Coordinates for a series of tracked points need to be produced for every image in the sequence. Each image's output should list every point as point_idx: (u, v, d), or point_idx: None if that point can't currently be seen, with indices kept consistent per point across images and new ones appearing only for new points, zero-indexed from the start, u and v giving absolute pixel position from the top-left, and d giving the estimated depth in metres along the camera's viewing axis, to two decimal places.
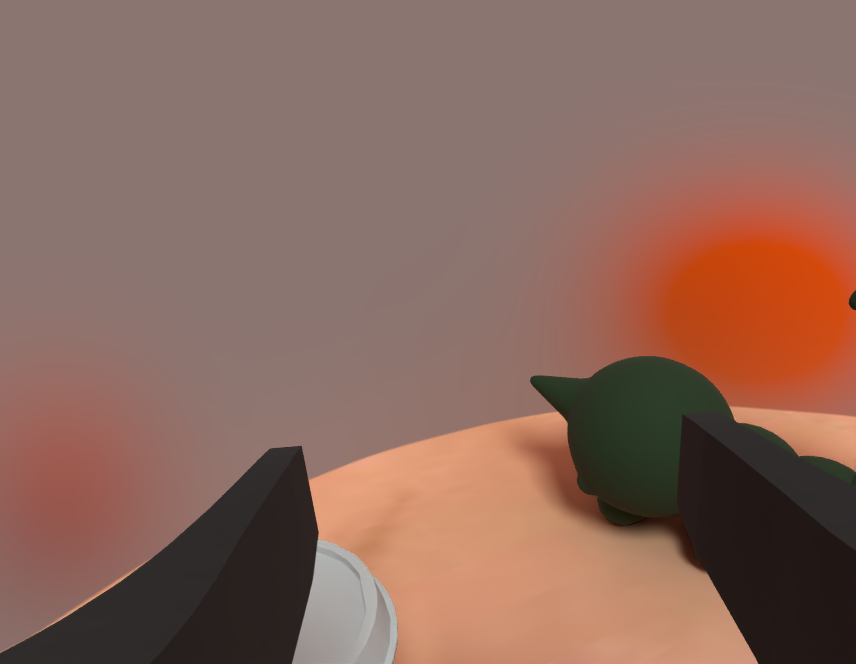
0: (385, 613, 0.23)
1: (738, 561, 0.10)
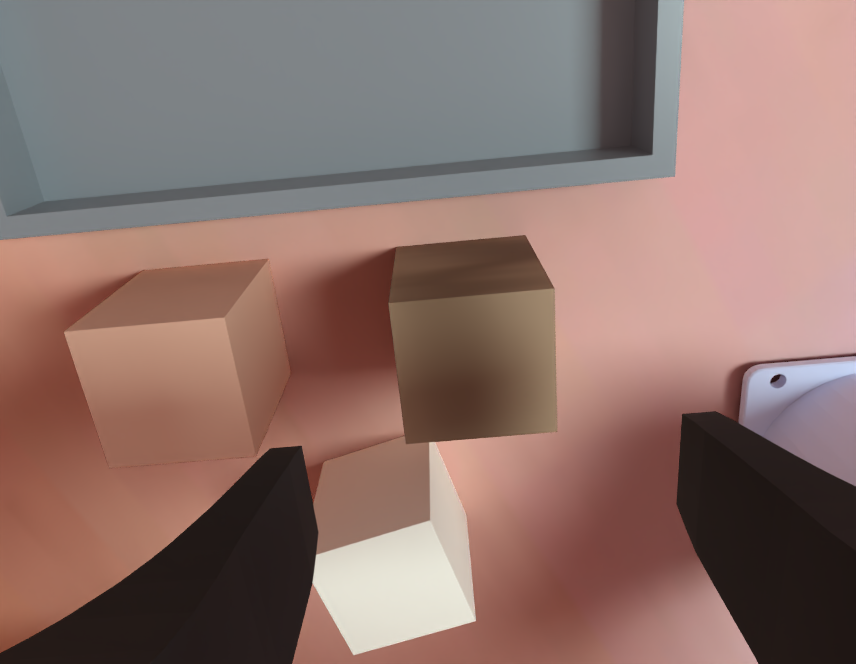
0: None
1: (738, 561, 0.10)
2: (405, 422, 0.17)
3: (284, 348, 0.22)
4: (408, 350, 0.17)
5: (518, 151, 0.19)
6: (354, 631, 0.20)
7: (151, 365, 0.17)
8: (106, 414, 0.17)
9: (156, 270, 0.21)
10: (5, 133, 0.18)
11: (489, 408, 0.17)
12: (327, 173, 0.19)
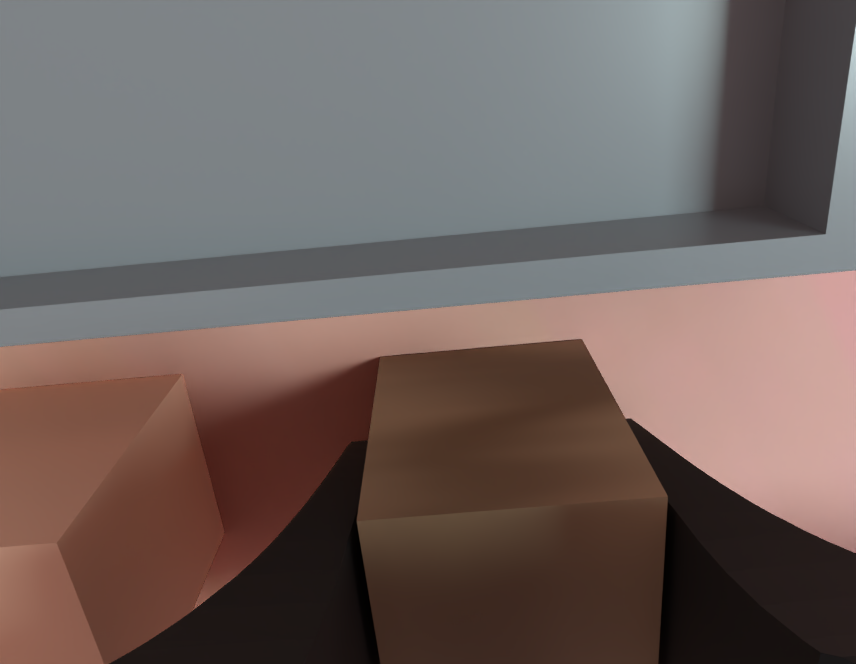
0: None
1: None
2: None
3: (212, 501, 0.14)
4: (395, 595, 0.09)
5: (578, 216, 0.11)
6: None
7: None
8: None
9: (7, 392, 0.13)
10: None
11: None
12: (265, 250, 0.12)
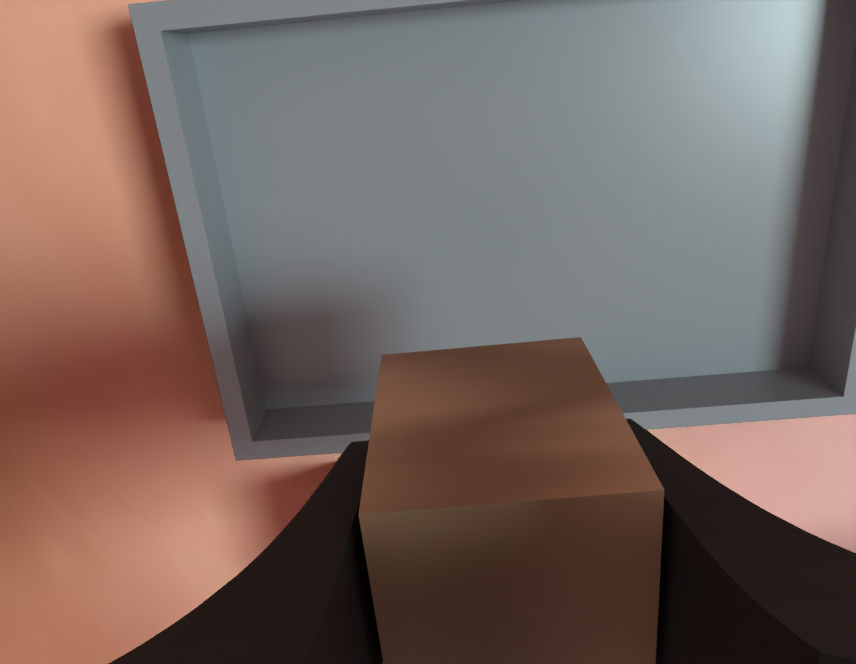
0: None
1: None
2: None
3: None
4: (397, 588, 0.09)
5: (705, 372, 0.21)
6: None
7: None
8: None
9: None
10: (248, 362, 0.20)
11: None
12: None
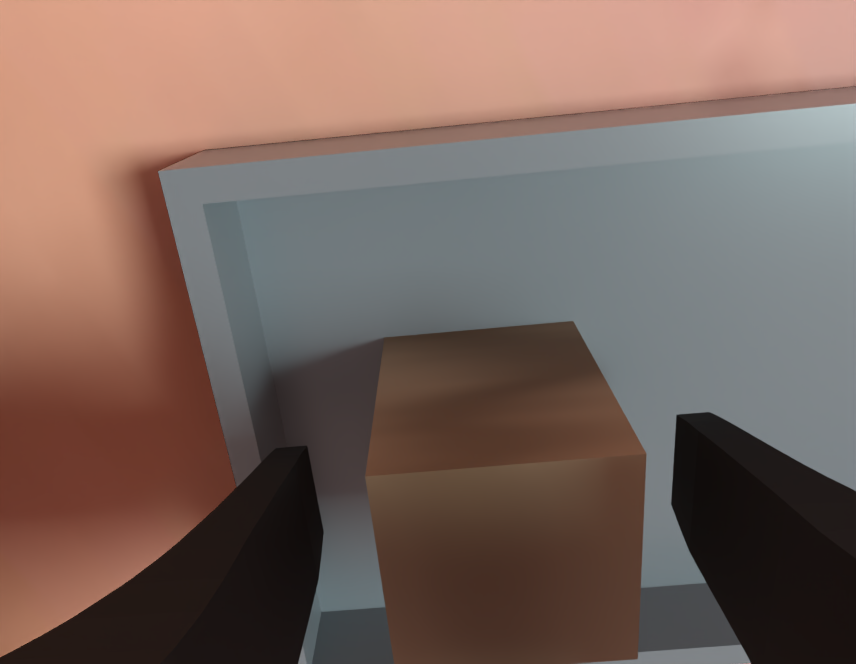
0: None
1: (731, 562, 0.10)
2: (395, 647, 0.11)
3: None
4: (400, 547, 0.10)
5: None
6: None
7: None
8: None
9: None
10: None
11: (530, 627, 0.11)
12: (646, 586, 0.17)
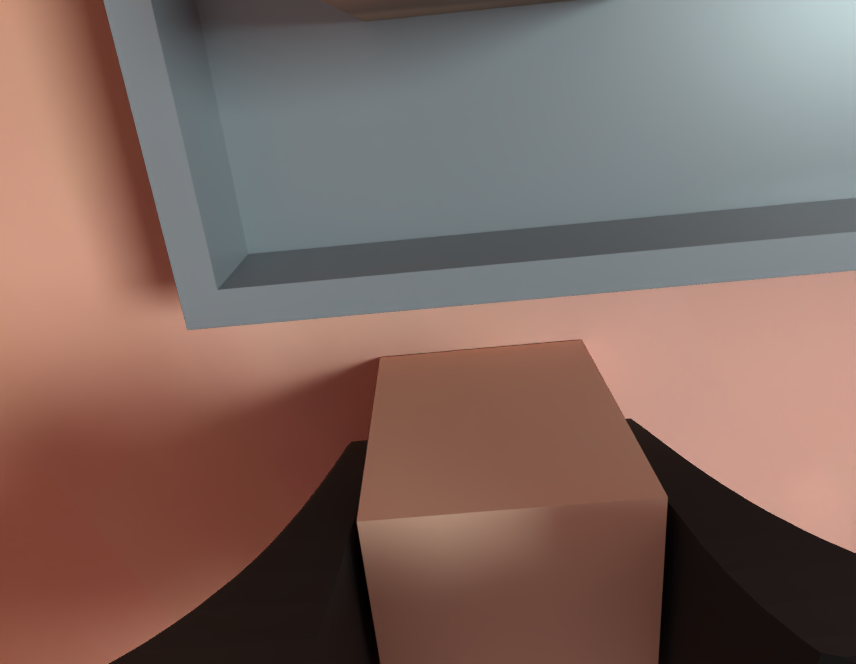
0: None
1: None
2: None
3: None
4: None
5: None
6: None
7: (508, 577, 0.09)
8: (407, 653, 0.10)
9: (404, 359, 0.13)
10: (210, 141, 0.10)
11: None
12: (724, 208, 0.11)
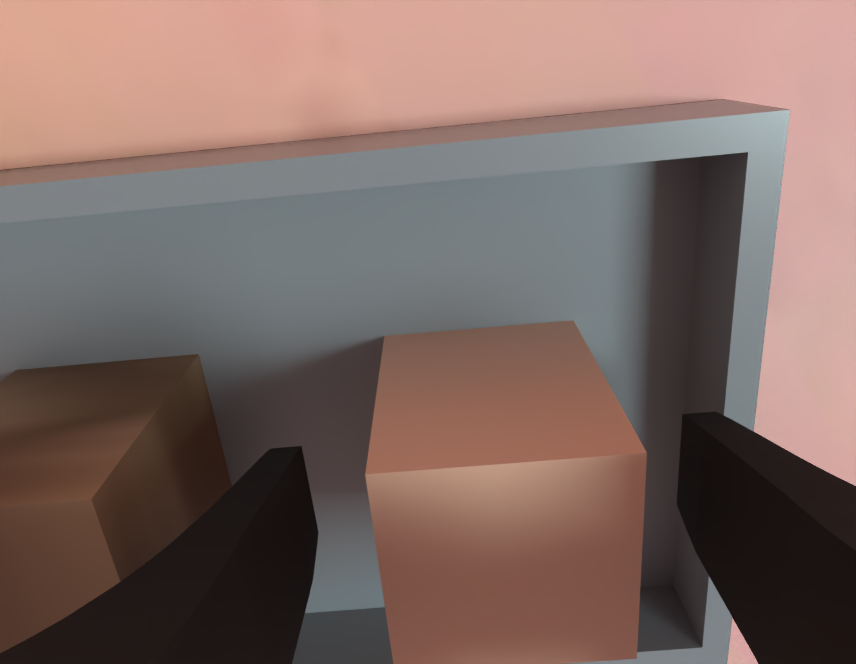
0: None
1: (738, 561, 0.10)
2: None
3: None
4: None
5: None
6: None
7: (503, 526, 0.10)
8: (410, 599, 0.10)
9: (406, 337, 0.14)
10: None
11: None
12: (333, 610, 0.17)
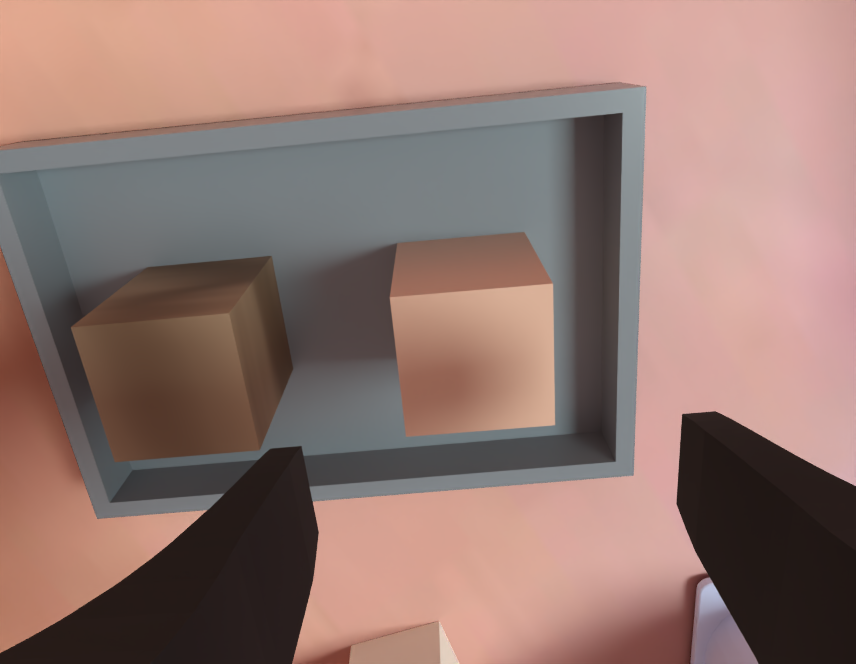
0: None
1: (738, 561, 0.10)
2: (110, 441, 0.18)
3: None
4: (100, 373, 0.17)
5: (511, 436, 0.24)
6: None
7: (470, 332, 0.17)
8: (415, 382, 0.17)
9: (412, 243, 0.21)
10: None
11: (189, 427, 0.18)
12: (359, 450, 0.24)
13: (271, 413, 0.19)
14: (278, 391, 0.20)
